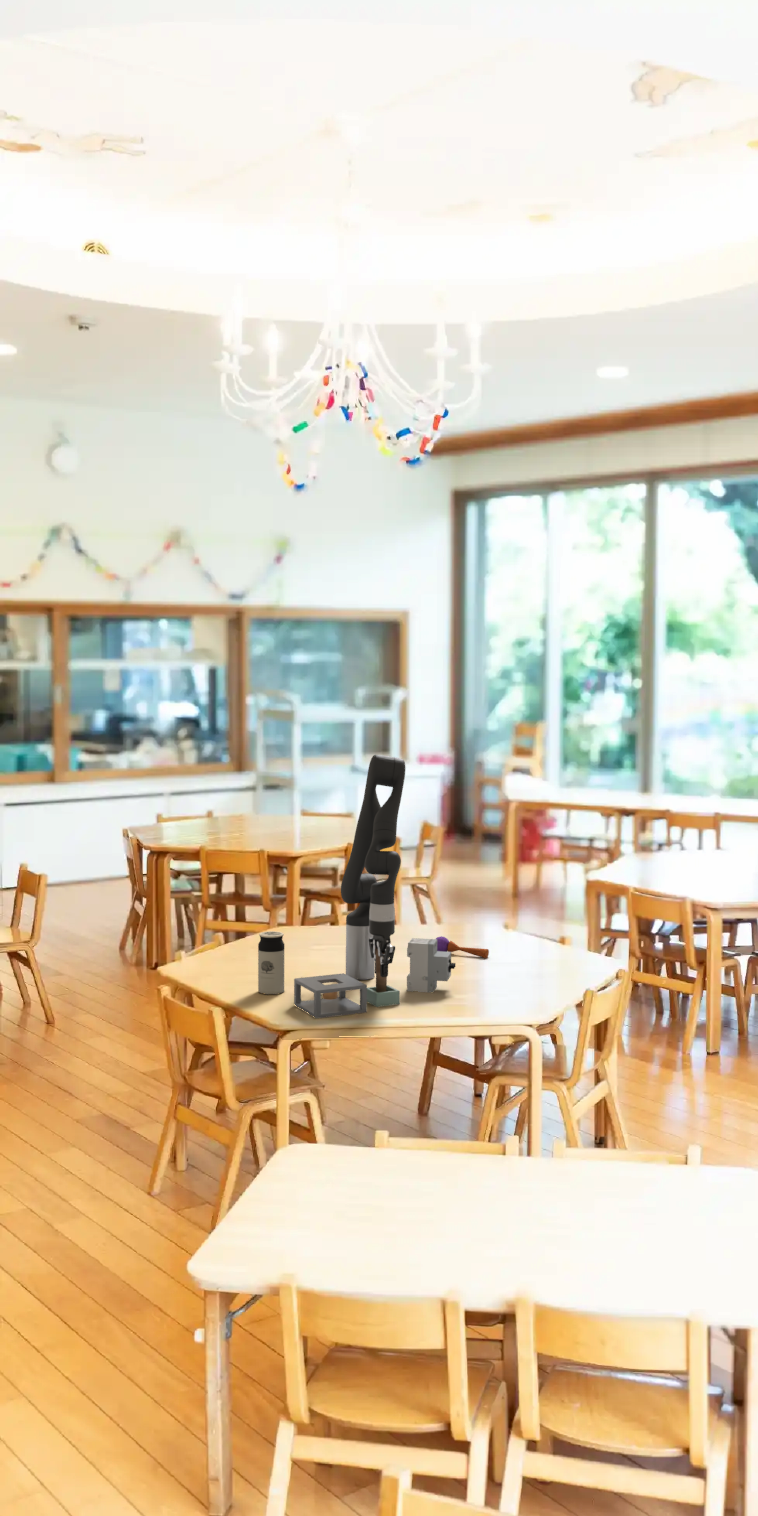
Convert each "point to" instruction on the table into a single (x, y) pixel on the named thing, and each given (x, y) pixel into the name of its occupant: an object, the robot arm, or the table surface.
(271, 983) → the travel mug
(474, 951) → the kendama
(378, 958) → the brown rounded rod
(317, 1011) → the gray open box frame
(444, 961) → the circuit breaker
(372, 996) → the holder
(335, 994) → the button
